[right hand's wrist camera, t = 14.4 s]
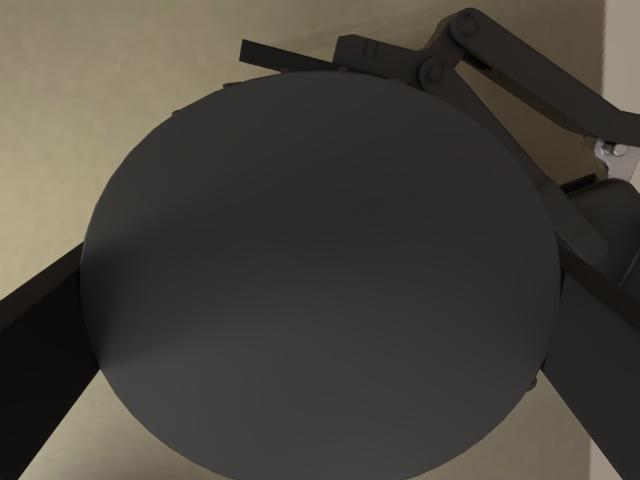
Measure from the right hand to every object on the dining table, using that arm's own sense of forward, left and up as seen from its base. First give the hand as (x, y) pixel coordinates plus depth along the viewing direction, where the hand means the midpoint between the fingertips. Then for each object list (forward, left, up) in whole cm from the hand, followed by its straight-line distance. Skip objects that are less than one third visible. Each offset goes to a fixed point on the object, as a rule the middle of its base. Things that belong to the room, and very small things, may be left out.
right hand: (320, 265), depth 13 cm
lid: (0, 0, +3) cm, 3 cm away
